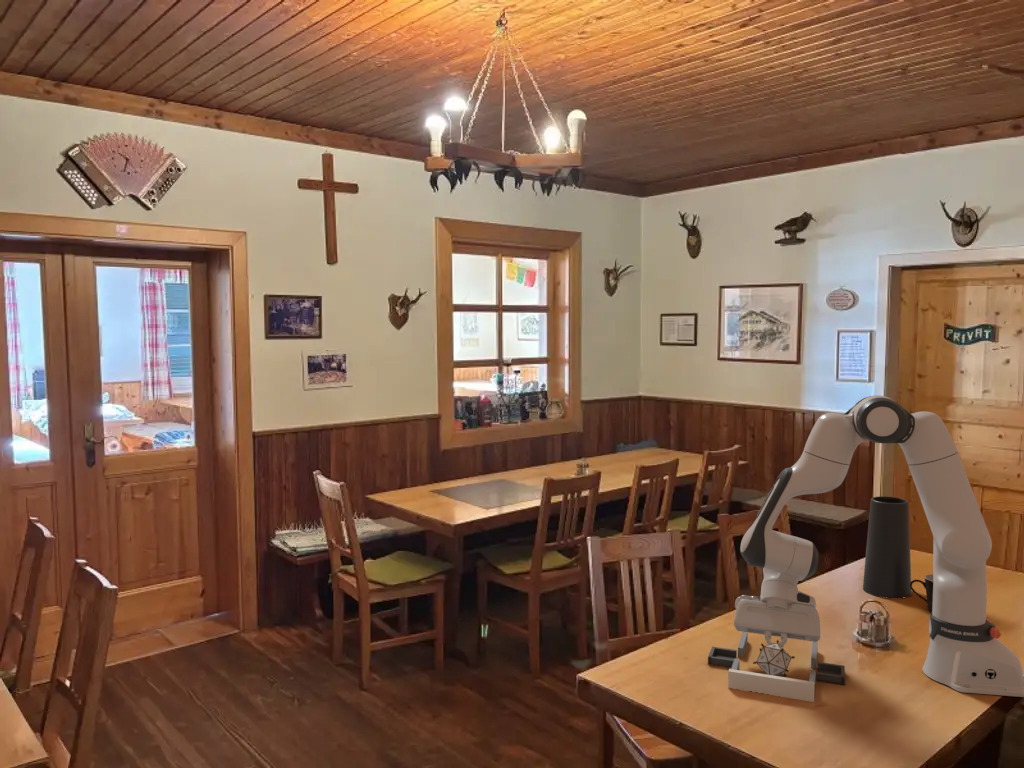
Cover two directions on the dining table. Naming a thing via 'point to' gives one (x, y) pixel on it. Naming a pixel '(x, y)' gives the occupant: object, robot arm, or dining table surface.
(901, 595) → the vase
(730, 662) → the trap lane
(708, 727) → the dining table surface
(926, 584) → the coffee mug
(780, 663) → the game die
